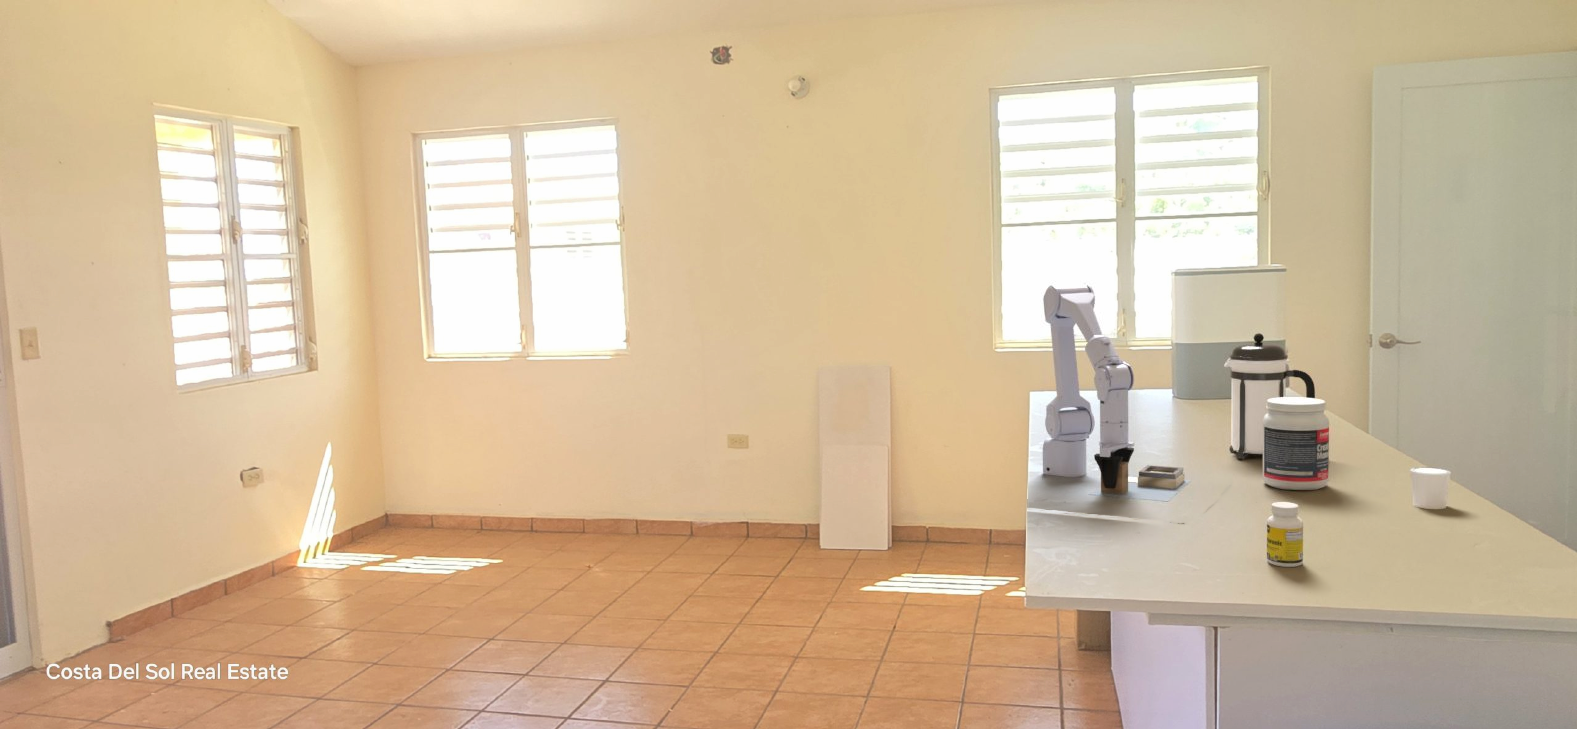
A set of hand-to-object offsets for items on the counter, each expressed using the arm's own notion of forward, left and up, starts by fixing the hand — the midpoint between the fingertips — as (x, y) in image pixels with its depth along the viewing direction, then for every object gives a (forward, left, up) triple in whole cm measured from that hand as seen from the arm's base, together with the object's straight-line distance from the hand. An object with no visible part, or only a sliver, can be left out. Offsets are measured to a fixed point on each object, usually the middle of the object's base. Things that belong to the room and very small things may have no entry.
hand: (1114, 484), depth 228 cm
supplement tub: (+32, +23, -2) cm, 39 cm away
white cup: (+57, +14, -2) cm, 59 cm away
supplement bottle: (+38, -37, -2) cm, 53 cm away
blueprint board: (+4, +6, -2) cm, 8 cm away
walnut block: (0, 0, -1) cm, 1 cm away
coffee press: (+21, +54, -2) cm, 58 cm away
